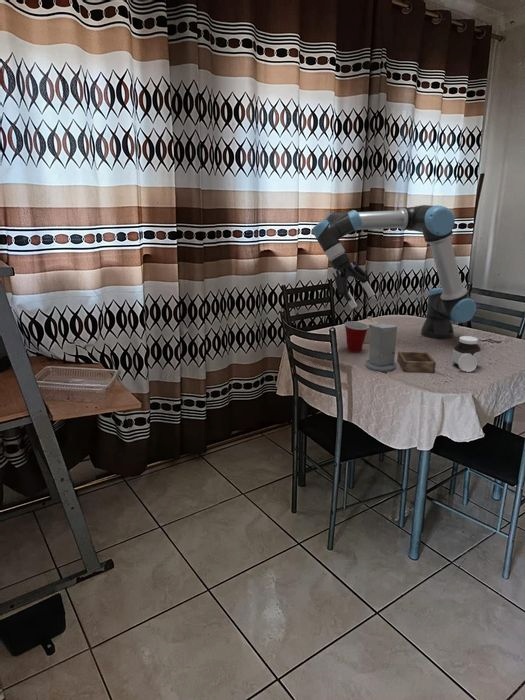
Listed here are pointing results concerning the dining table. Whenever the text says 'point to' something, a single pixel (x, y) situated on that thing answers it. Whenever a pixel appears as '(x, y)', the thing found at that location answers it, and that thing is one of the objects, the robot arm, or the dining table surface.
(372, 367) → the slate plate
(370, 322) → the teacup with lid
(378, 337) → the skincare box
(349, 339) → the plastic cup
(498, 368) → the dining table surface
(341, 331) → the dining table surface
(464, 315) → the robot arm
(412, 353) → the walnut collar
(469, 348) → the spread jar
